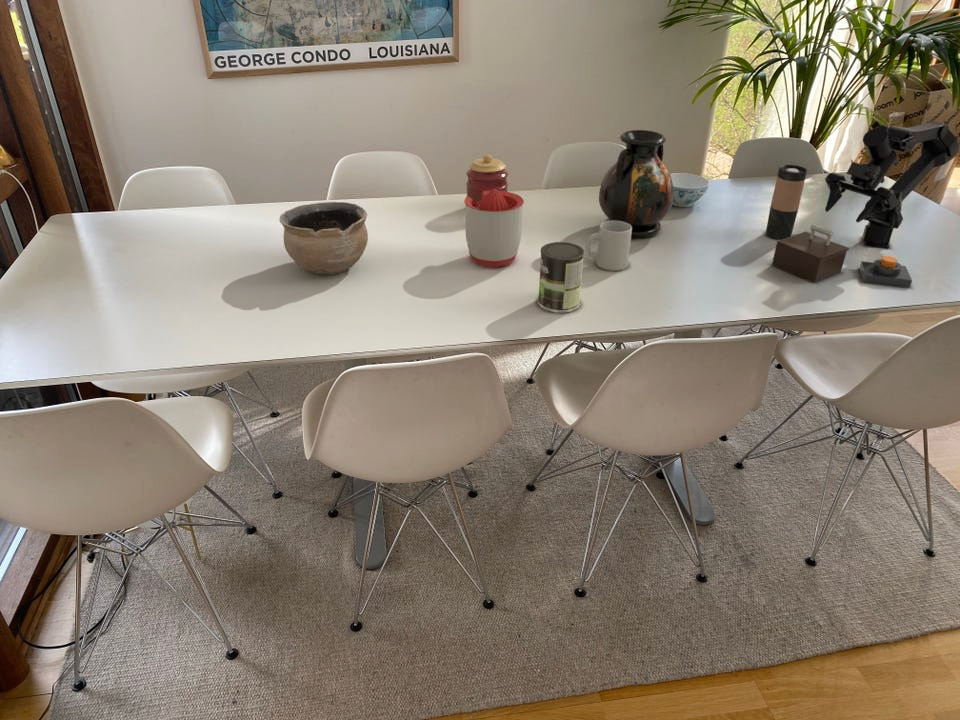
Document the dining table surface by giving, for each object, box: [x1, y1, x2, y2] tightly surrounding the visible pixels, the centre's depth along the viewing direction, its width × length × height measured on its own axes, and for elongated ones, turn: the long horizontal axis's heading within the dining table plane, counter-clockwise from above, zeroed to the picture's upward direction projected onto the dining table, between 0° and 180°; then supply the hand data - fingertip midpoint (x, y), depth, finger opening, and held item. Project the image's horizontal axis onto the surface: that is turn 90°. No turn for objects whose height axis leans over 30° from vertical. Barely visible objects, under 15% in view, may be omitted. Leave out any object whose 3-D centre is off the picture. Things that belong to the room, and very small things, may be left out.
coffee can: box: [537, 241, 585, 314], centre depth 185 cm, size 10×10×14 cm
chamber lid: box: [776, 223, 850, 261], centre depth 203 cm, size 12×13×5 cm
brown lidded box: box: [771, 243, 848, 284], centre depth 206 cm, size 11×13×6 cm
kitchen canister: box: [465, 153, 509, 203], centre depth 239 cm, size 13×13×18 cm
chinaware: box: [670, 172, 710, 208], centre depth 248 cm, size 15×15×8 cm
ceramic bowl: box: [278, 201, 369, 275], centre depth 202 cm, size 22×22×15 cm
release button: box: [880, 255, 898, 268], centre depth 201 cm, size 4×4×2 cm
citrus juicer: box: [463, 189, 525, 269], centre depth 206 cm, size 16×17×20 cm
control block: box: [859, 258, 913, 289], centre depth 202 cm, size 11×9×4 cm
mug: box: [586, 220, 632, 272], centre depth 206 cm, size 12×8×11 cm
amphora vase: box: [598, 129, 674, 239], centre depth 223 cm, size 22×22×28 cm
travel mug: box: [765, 164, 808, 241], centre depth 223 cm, size 8×8×20 cm
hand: (841, 216), depth 206 cm, fingers open, 9 cm apart
